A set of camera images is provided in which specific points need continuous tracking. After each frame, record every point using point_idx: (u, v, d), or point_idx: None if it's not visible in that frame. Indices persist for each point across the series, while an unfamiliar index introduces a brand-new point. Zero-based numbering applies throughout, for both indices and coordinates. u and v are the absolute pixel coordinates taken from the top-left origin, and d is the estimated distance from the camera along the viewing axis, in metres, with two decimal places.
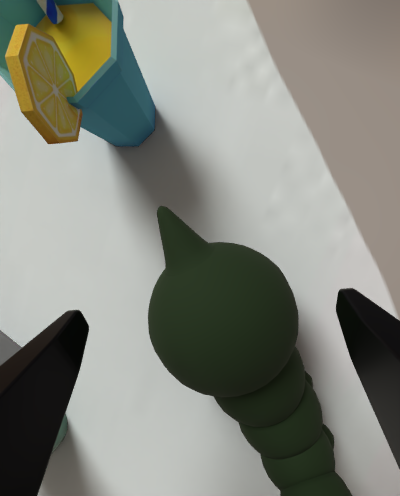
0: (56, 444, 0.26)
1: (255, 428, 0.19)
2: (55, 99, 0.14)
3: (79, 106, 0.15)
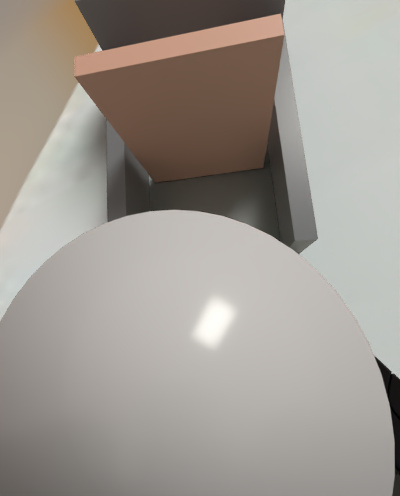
0: None
1: None
2: None
3: None
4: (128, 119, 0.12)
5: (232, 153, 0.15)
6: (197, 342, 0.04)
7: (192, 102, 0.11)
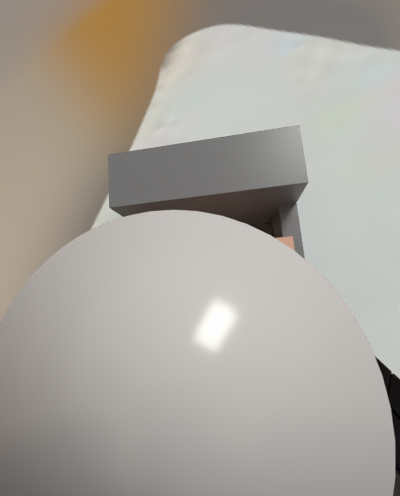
0: None
1: None
2: None
3: None
4: None
5: None
6: (198, 342, 0.04)
7: None
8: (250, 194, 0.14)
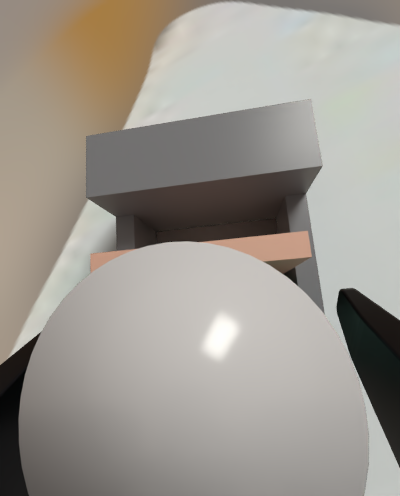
0: None
1: None
2: None
3: None
4: None
5: None
6: (207, 353, 0.05)
7: None
8: (252, 181, 0.12)
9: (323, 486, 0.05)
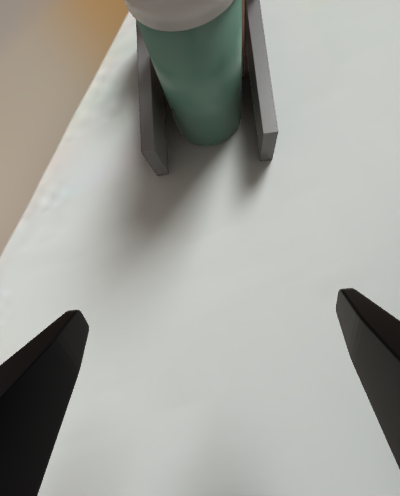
0: (219, 133, 0.23)
1: None
2: None
3: None
4: None
5: None
6: None
7: None
8: None
9: None
